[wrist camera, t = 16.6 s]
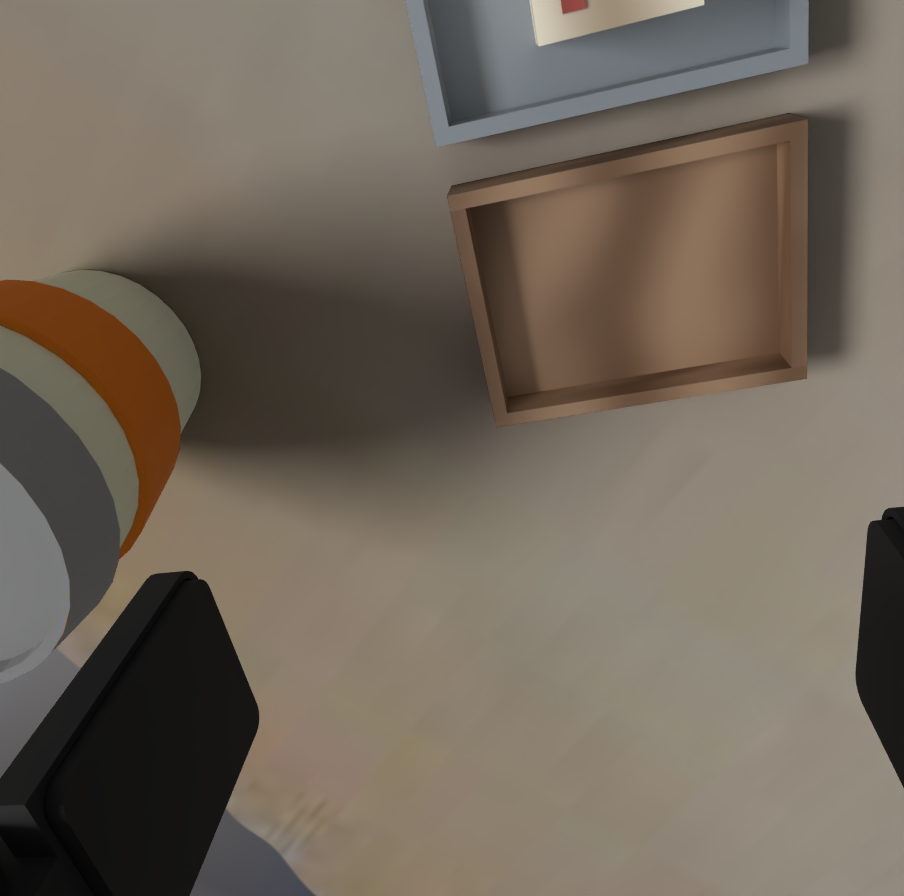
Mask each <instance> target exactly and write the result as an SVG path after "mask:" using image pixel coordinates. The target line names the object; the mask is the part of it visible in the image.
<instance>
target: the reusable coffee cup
mask: <svg viewBox="0 0 904 896" xmlns="http://www.w3.org/2000/svg"><path fill="white" fill-rule="evenodd" d="M200 386H201V370H200V363H199V358H198V355H197V352H196V349H195V346H194V343H193V341H192V339H191V337H190V335H189V333H188V332H187V330H186V328H185V326H184V325H183V323H182V322H181V321H180V320H179V318H178V317H177V316H176V315H175V313H174V312H173V311H172V309H170V308H169V307H168V306H167V305H166V304H165V303H164V302H163V301H162V300H161V299H160V298H158V297H157V296H156V295H155V294H153V293H152V292H150V291H149V290H147V289H146V288H144V287H143V286H141V285H140V284H138V283H135V282H133V281H131V280H129V279H126V278H124V277H122V276H119V275H115V274H111V273H107V272H103V271H95V270H77V271H70V272H64V273H61V274H57V275H53V276H50V277H46V278H43V279H39V280H35V281H20V280H3V281H0V683H3V682H7V681H10V680H12V679H14V678H16V677H18V676H20V675H22V674H24V673H26V672H28V671H30V670H32V669H33V668H35V667H36V666H37V665H38V664H39V663H40V662H41V661H43V660H44V659H45V658H46V657H47V656H48V655H49V654H51V653H52V652H53V650H55V648H56V647H57V646H58V645H59V644H60V643H61V642H62V641H63V640H64V639H65V638H66V637H67V636H68V635H69V634H70V633H71V632H72V631H73V630H74V629H75V628H76V627H77V626H78V624H79V623H80V622H81V621H82V620H83V619H84V618H85V617H86V616H87V615H88V614H89V613H90V612H91V611H92V610H93V609H94V608H95V607H96V606H97V605H98V604H99V602H100V601H101V599H102V598H103V596H104V595H105V593H106V591H107V590H108V588H109V587H110V585H111V584H112V582H113V578H114V575H115V572H116V568H117V565H118V561H119V559H120V558H121V557H122V556H123V555H125V554H126V553H127V552H128V551H129V550H130V549H131V547H132V546H133V544H134V543H135V541H136V539H137V538H138V536H139V535H140V533H141V532H142V530H143V528H144V526H145V524H146V522H147V520H148V518H149V516H150V514H151V512H152V510H153V508H154V506H155V504H156V502H157V500H158V498H159V496H160V494H161V492H162V491H163V489H164V487H165V485H166V483H167V481H168V479H169V477H170V475H171V473H172V471H173V469H174V466H175V463H176V460H177V456H178V453H179V450H180V437H181V433H182V431H183V429H184V427H185V425H186V423H187V421H188V419H189V418H190V416H191V414H192V412H193V410H194V408H195V406H196V403H197V400H198V397H199V394H200Z"/></svg>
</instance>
